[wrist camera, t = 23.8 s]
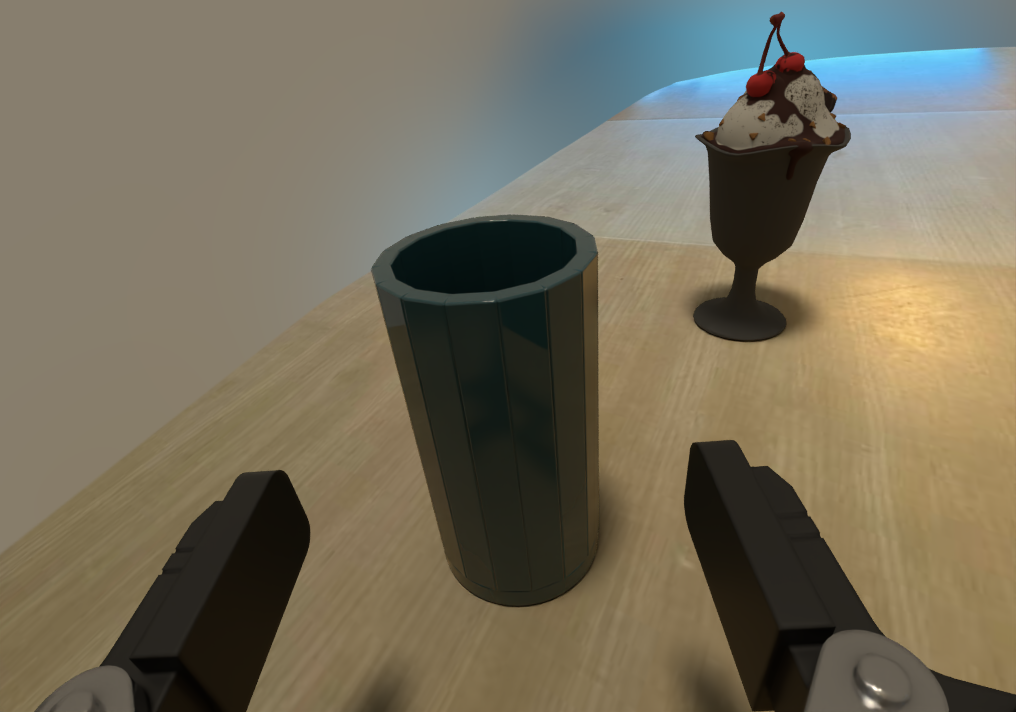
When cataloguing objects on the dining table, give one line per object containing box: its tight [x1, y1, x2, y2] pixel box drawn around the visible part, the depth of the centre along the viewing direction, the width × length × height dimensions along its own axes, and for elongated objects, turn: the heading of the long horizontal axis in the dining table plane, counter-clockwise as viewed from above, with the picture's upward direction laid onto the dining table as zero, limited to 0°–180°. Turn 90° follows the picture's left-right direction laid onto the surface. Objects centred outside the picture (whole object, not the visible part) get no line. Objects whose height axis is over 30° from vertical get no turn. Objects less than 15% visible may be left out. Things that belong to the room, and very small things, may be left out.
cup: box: [371, 215, 599, 606], centre depth 16 cm, size 6×6×11 cm
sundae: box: [693, 12, 851, 341], centre depth 26 cm, size 7×7×15 cm
